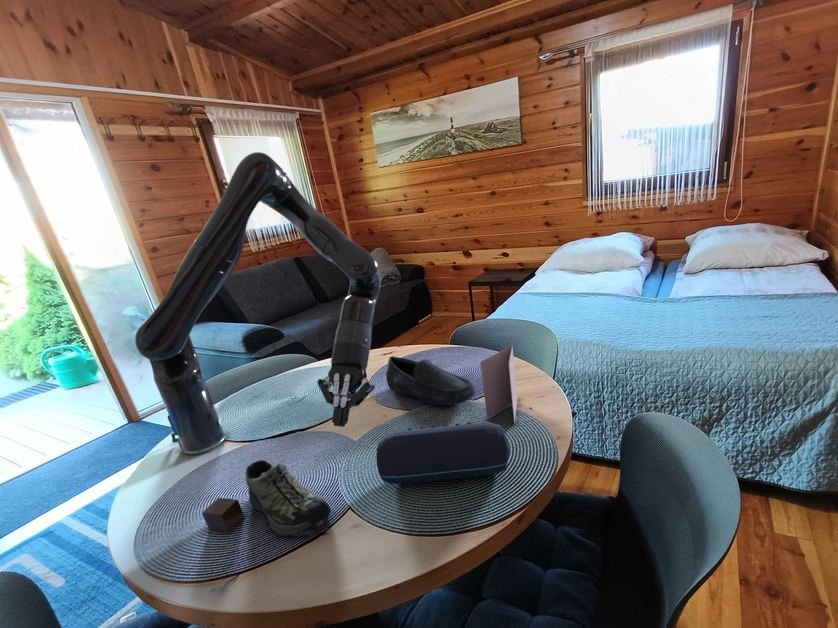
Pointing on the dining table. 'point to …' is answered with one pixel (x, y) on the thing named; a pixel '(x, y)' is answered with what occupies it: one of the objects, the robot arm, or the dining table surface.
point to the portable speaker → (442, 453)
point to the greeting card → (499, 382)
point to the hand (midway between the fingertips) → (339, 426)
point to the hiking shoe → (285, 500)
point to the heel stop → (223, 514)
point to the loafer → (427, 382)
